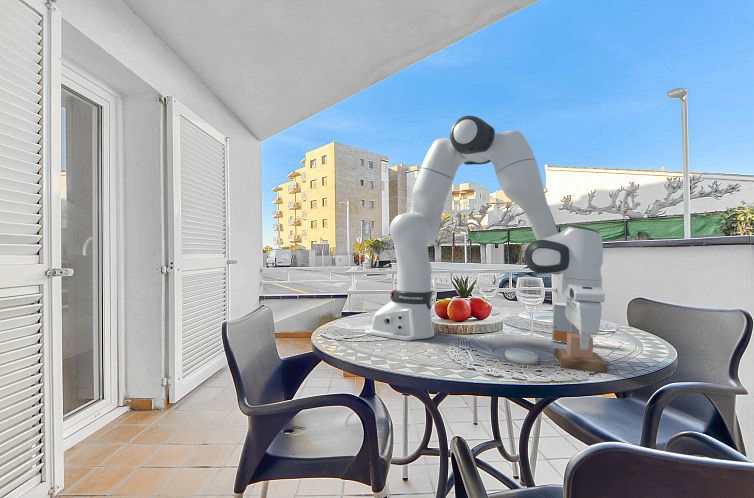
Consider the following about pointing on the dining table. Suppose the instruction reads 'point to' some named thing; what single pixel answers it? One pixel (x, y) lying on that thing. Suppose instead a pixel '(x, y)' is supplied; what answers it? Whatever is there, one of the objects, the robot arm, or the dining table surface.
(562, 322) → the skincare box
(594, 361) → the walnut coaster
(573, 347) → the terracotta cube
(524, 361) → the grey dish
